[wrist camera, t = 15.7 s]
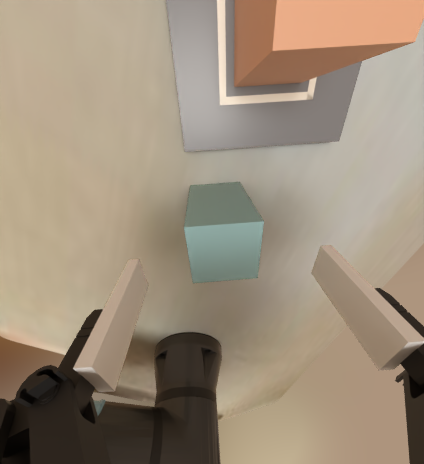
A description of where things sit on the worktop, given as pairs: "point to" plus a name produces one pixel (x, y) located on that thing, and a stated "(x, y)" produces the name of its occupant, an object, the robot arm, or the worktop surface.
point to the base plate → (245, 89)
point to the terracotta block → (316, 36)
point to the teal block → (222, 233)
